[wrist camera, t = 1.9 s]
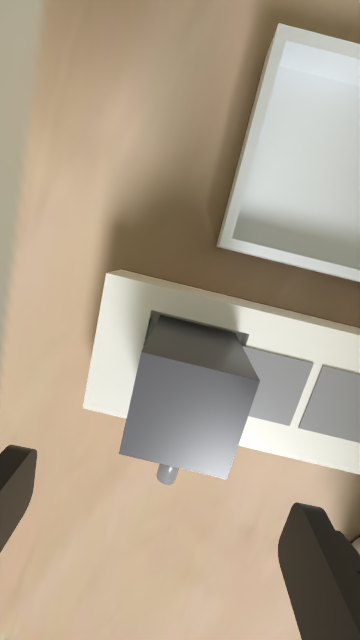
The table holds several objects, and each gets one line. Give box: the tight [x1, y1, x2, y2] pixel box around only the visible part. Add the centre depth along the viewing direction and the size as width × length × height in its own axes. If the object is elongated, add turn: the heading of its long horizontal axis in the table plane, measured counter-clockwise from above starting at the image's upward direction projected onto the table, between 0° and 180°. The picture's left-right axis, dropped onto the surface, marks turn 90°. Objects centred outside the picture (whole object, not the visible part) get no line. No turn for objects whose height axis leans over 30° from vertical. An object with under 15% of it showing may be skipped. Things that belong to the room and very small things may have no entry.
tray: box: [216, 23, 360, 282], centre depth 17 cm, size 12×11×2 cm
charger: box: [119, 315, 260, 485], centre depth 16 cm, size 5×7×7 cm
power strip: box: [83, 269, 360, 474], centre depth 19 cm, size 20×9×4 cm, turn 77°
